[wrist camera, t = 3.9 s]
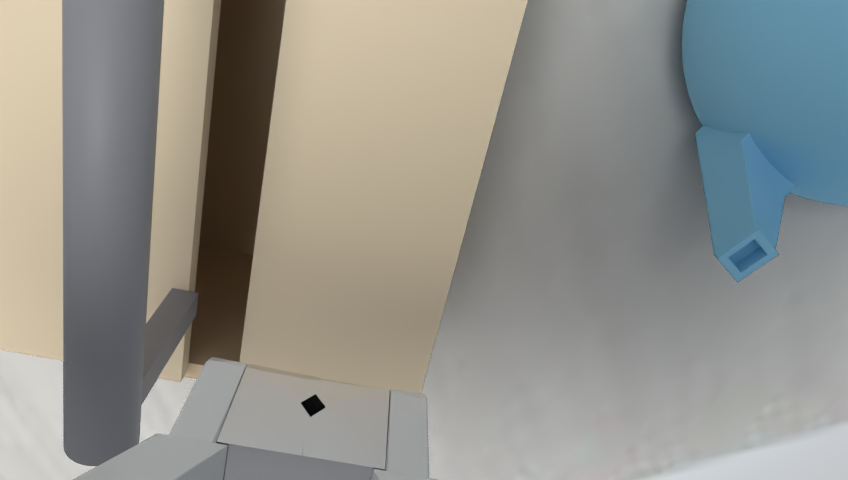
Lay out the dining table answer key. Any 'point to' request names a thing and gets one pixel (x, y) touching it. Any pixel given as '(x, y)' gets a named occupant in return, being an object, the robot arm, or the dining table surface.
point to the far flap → (103, 198)
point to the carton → (343, 180)
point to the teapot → (766, 115)
